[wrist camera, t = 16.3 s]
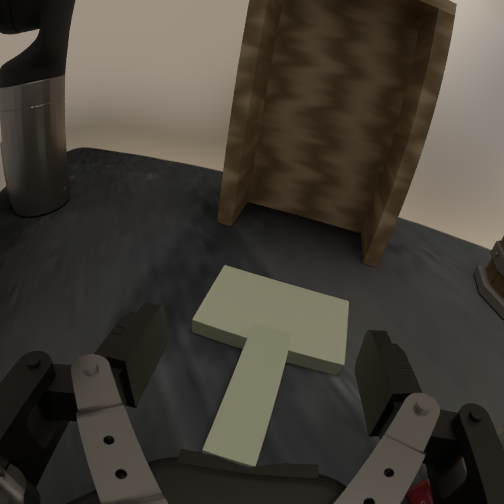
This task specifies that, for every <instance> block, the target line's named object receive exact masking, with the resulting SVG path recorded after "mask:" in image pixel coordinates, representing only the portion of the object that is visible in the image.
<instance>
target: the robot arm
mask: <svg viewBox="0 0 504 504" xmlns="http://www.w3.org/2000/svg"><path fill="white" fill-rule="evenodd" d="M74 4H75V0H0V32H1V33H3V34H18V33H22V32H27V31H31V30H36V29H40V30H39V34H38V36H37V38H36V40H35V41H34V42H33V43H32V44H31V45H30V46H29V47H28V48H27V49H26V50H24V51H23V52H22V53H21V54H19V55H18V56H16V57H14V58H13V59H11V60H9V61H8V62H6V63H5V64H4V65H2V67H1V68H0V122H1V135H2V142H1V145H0V146H1V154H2V162H3V169H4V175H5V181H6V186H7V192H8V197H9V202H10V204H11V205H12V207H13V210H14V212H15V213H16V214H18V215H20V216H38V215H42V214H46V213H49V212H51V211H53V210H56V209H58V208H59V207H61V206H62V205H64V204H65V203H66V202H67V201H68V200H69V198H70V186H69V176H68V164H67V151H66V135H65V68H66V57H67V49H68V38H69V30H70V25H71V19H72V13H73V9H74ZM166 341H167V334H166V319H165V308H164V306H163V305H159V304H153V303H148V302H145V303H144V304H143V305H142V307H141V308H140V309H139V311H138V312H137V313H135V312H131V313H129V314H127V315H126V316H124V317H122V318H121V320H120V321H119V322H118V323H117V325H116V327H114V329H113V330H112V331H111V333H110V334H109V335H108V336H107V338H106V339H105V340H104V342H103V343H102V344H101V346H100V347H99V348H98V349H97V351H96V352H95V353H94V354H89V355H84V356H81V357H79V358H78V359H76V360H75V361H74V362H73V364H72V365H60V364H53V363H52V361H51V358H50V356H49V355H48V354H47V353H45V352H42V351H33V352H29V353H27V354H25V355H24V356H22V357H21V358H20V359H19V361H18V362H17V363H16V364H15V365H14V367H13V368H12V369H11V370H10V372H9V373H8V374H7V375H6V376H5V378H4V379H3V380H2V382H1V383H0V504H40V501H41V499H40V494H39V492H38V490H37V488H36V487H37V484H38V482H39V480H40V478H41V476H42V474H43V472H44V470H45V468H46V466H47V464H48V462H49V460H50V458H51V456H52V454H53V452H54V450H55V448H56V446H57V444H58V442H59V440H60V438H61V436H62V434H63V432H64V431H65V429H66V427H67V425H68V423H69V421H77V422H78V426H79V430H80V435H81V439H82V443H83V447H84V450H85V454H86V458H87V461H88V465H89V468H90V472H91V475H92V478H93V481H94V484H95V487H96V490H94V491H92V492H90V493H88V494H86V495H84V496H82V497H80V498H78V499H75V500H73V501H71V502H69V503H67V504H400V503H401V501H402V500H403V498H404V496H405V494H406V493H407V491H408V489H409V487H410V485H411V483H412V482H413V480H414V478H415V476H416V474H417V472H418V470H419V468H420V466H421V464H422V463H423V464H426V468H427V473H428V478H429V483H430V488H431V493H432V498H433V504H504V449H503V447H502V444H501V442H500V439H499V437H498V435H497V432H496V430H495V428H494V425H493V423H492V421H491V419H490V416H489V414H488V413H487V411H486V410H485V409H484V408H483V407H481V406H479V405H477V404H472V403H469V404H465V405H464V406H462V408H461V409H460V410H459V412H458V413H456V412H451V411H445V410H441V409H440V407H439V405H438V403H437V402H436V400H434V399H433V398H432V397H430V396H429V395H426V394H423V393H422V391H421V388H420V386H419V384H418V381H417V379H416V377H415V374H414V372H413V370H412V367H411V365H410V363H408V358H407V356H406V354H405V352H404V351H403V350H402V349H401V348H400V347H399V346H398V345H397V344H392V343H391V340H390V338H389V336H388V333H387V332H386V331H375V330H368V331H367V332H366V334H365V337H364V340H363V343H362V346H361V349H360V351H359V354H358V357H357V360H356V365H355V375H356V380H357V384H358V388H359V393H360V397H361V402H362V406H363V411H364V416H365V420H366V425H367V430H368V435H369V437H370V436H379V438H380V442H379V443H378V445H377V446H376V448H375V449H374V451H373V452H372V454H371V455H370V457H369V458H368V459H367V461H366V462H365V464H364V465H363V466H362V468H361V469H360V471H359V472H358V473H357V475H356V476H355V477H354V479H353V480H352V481H351V482H350V484H349V485H348V486H347V487H346V486H345V485H343V484H342V483H340V482H338V481H337V480H335V479H332V478H330V477H327V476H324V475H321V474H318V465H305V464H285V463H284V464H277V465H269V466H260V467H245V466H242V465H239V464H236V463H234V462H231V461H228V460H225V459H223V458H220V457H217V456H215V455H210V454H204V453H199V452H194V451H189V450H184V449H181V451H180V454H179V457H172V458H164V459H158V460H155V461H151V462H149V463H147V461H146V459H145V456H144V454H143V452H142V450H141V447H140V445H139V443H138V440H137V438H136V435H135V433H134V430H133V428H132V425H131V423H130V420H129V418H128V415H127V412H126V410H125V406H126V405H127V406H130V407H134V408H136V407H137V405H138V403H139V400H140V398H141V396H142V394H143V392H144V390H145V388H146V386H147V384H148V382H149V380H150V378H151V376H152V374H153V372H154V370H155V368H156V366H157V364H158V362H159V360H160V358H161V356H162V354H163V352H164V350H165V347H166ZM35 406H36V407H35ZM34 407H35V408H34ZM33 409H34V410H33ZM32 410H33V411H32ZM31 412H32V413H31ZM30 413H31V414H30ZM29 415H30V416H29ZM28 417H29V418H28ZM462 458H463V459H464V462H465V465H466V469H467V476H466V473H465V470H464V466H463V463H462Z"/></svg>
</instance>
